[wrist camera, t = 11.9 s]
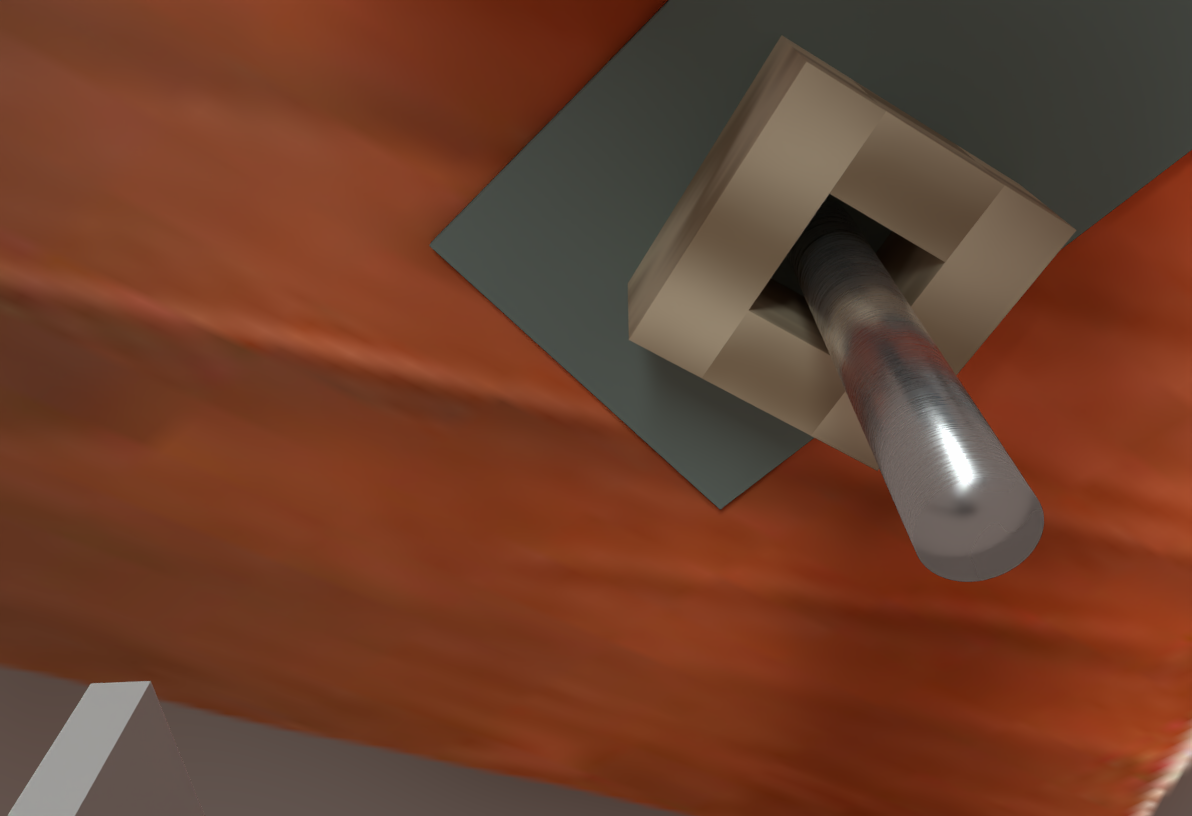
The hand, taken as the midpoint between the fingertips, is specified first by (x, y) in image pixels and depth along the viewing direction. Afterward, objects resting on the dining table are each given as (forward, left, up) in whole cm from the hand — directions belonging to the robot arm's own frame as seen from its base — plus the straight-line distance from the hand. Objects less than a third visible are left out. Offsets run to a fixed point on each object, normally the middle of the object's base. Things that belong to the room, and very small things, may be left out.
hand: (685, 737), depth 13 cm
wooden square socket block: (-1, +7, -26) cm, 27 cm away
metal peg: (-1, +7, -26) cm, 27 cm away
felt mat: (-3, +6, -26) cm, 27 cm away
